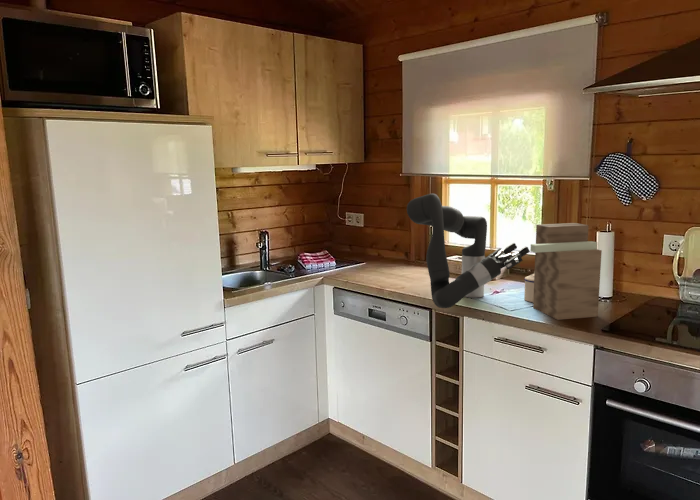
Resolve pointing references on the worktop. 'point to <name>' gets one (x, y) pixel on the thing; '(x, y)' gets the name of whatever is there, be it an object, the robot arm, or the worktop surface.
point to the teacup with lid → (529, 288)
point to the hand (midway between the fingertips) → (521, 246)
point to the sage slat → (563, 246)
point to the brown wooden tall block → (566, 274)
